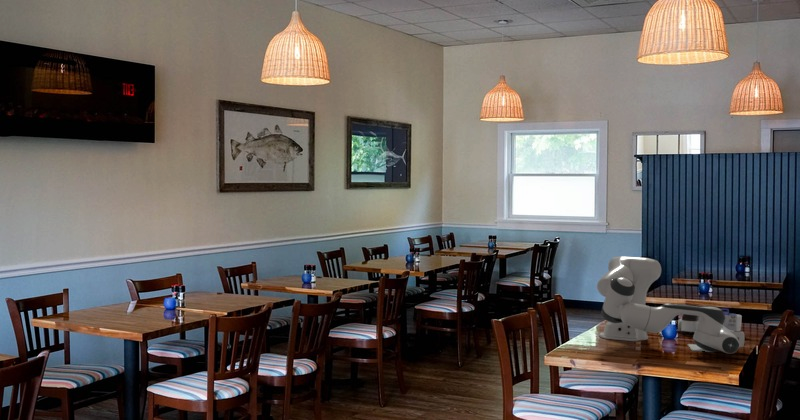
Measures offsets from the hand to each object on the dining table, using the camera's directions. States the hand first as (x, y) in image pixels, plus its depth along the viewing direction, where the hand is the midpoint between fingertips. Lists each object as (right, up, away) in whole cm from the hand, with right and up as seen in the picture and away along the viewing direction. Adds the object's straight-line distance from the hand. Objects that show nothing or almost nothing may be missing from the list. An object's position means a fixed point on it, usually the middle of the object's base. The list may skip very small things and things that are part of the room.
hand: (717, 333), depth 361 cm
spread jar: (-1, -6, +36) cm, 37 cm away
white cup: (+21, -6, +33) cm, 39 cm away
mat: (-9, -6, -4) cm, 12 cm away
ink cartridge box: (+13, -6, +22) cm, 26 cm away
